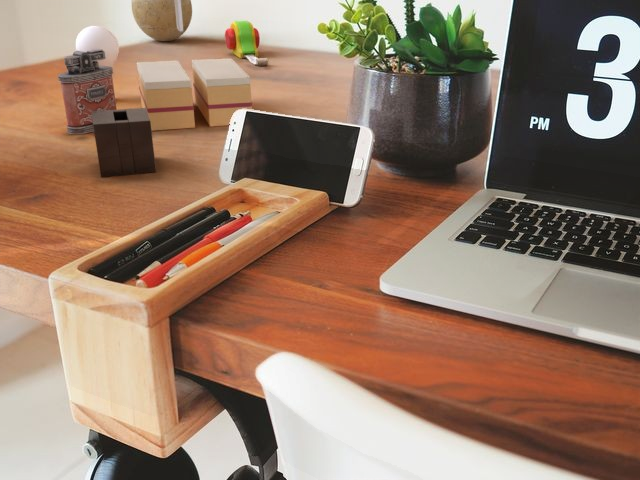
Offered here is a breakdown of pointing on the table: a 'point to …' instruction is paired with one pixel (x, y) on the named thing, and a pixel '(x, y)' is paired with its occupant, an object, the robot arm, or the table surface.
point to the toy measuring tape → (244, 42)
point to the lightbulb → (99, 43)
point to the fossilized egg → (161, 18)
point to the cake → (176, 93)
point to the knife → (178, 15)
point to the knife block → (124, 142)
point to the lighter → (86, 89)
